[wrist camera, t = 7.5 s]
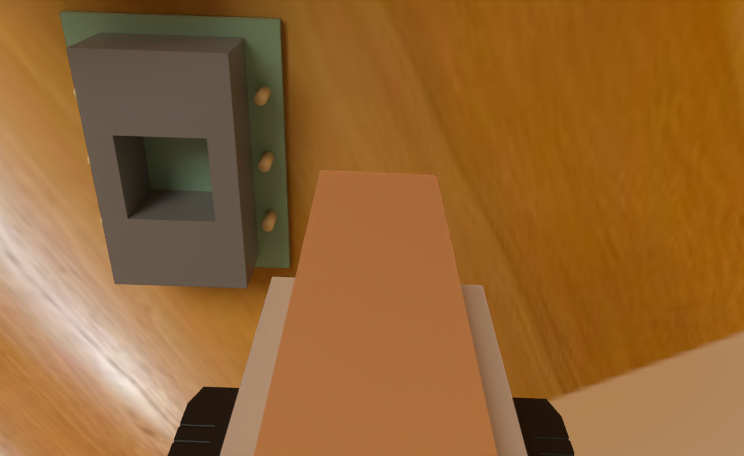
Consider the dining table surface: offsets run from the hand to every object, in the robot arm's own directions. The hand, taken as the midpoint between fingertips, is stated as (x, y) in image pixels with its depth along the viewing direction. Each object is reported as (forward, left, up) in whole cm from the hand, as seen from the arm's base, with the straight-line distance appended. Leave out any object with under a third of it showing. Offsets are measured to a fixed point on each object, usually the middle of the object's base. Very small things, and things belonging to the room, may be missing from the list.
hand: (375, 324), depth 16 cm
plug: (0, 0, -6) cm, 6 cm away
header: (+4, -12, -22) cm, 25 cm away
